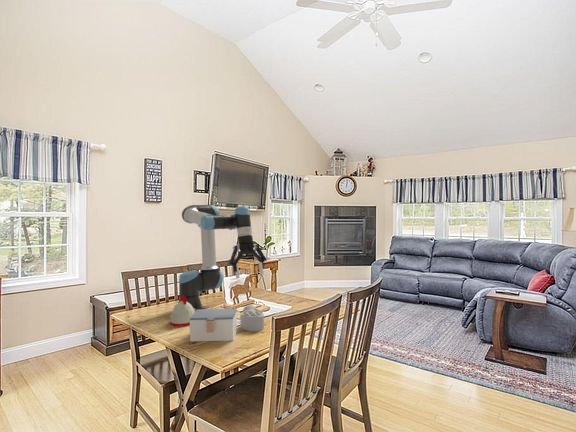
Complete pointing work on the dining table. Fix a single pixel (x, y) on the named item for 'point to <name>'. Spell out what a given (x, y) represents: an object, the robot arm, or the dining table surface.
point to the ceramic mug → (249, 307)
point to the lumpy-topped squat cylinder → (252, 320)
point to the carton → (222, 330)
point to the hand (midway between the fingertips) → (250, 276)
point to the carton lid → (212, 316)
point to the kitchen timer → (182, 313)
